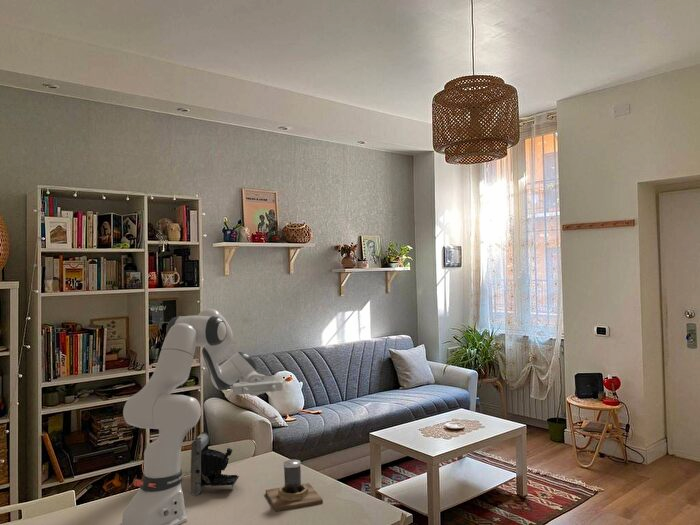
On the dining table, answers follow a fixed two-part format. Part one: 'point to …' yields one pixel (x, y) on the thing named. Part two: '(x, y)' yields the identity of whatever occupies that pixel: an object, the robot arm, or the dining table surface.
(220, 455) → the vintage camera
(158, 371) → the robot arm
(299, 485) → the canister
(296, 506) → the mount
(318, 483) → the dining table surface
